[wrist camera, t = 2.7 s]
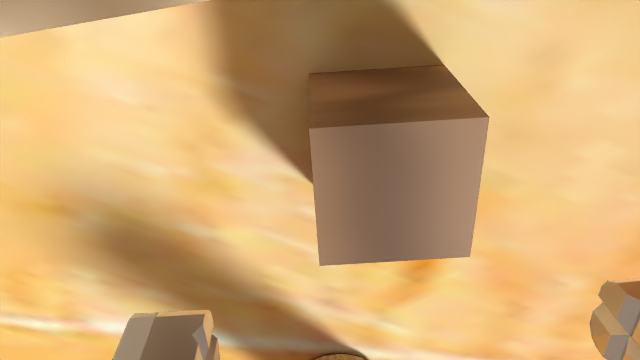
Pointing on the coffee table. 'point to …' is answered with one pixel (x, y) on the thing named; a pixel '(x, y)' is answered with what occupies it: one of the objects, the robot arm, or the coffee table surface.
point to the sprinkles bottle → (340, 357)
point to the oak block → (70, 12)
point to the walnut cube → (394, 164)
